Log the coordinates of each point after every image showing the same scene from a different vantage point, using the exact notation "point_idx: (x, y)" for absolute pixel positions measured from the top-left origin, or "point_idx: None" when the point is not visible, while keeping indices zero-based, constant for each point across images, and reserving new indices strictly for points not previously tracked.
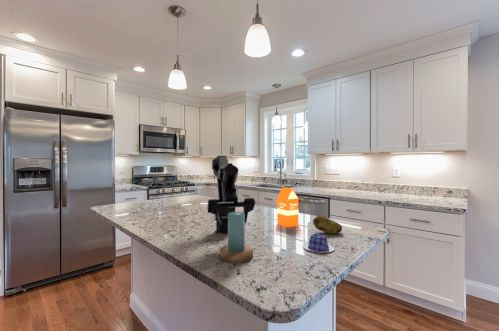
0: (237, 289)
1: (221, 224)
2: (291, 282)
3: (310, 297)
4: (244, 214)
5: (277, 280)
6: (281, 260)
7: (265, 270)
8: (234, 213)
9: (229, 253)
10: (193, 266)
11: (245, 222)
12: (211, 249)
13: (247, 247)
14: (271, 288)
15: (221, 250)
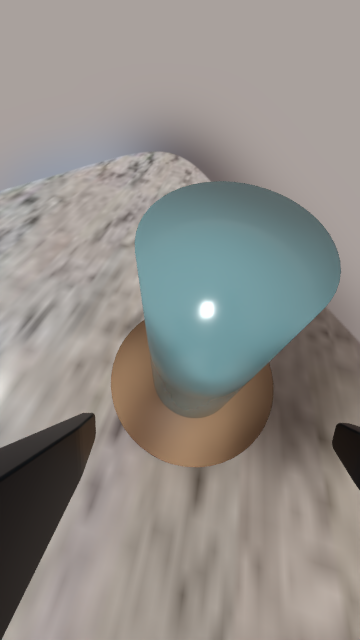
0: None
1: (340, 435)
2: (102, 199)
3: (102, 161)
4: (140, 232)
5: (127, 212)
6: (41, 299)
7: (130, 256)
8: (257, 250)
9: None
10: (351, 337)
11: (94, 416)
12: (312, 533)
13: (133, 385)
14: (155, 193)
15: (265, 381)
